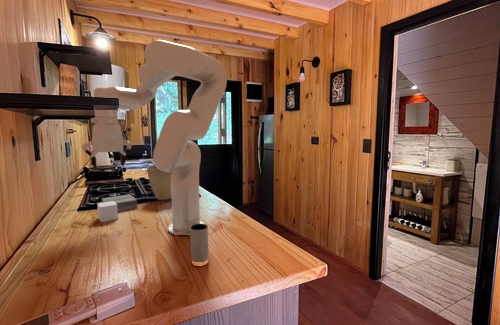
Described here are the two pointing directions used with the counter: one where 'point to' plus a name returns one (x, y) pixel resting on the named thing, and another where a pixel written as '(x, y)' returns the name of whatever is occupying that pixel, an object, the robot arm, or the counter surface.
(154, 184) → the plant pot
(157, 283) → the counter surface
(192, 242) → the grey cylinder
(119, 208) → the charcoal block
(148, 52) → the robot arm
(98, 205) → the white cube
